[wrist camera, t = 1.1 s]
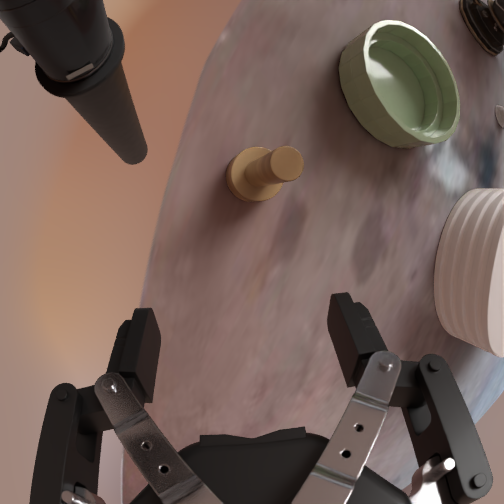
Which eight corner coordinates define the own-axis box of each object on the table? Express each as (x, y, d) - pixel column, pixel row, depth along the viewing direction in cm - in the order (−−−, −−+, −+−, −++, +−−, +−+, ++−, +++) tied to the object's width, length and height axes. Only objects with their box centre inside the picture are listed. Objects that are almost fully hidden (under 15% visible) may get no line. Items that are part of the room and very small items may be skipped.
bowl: (314, 88, 34) (340, 69, 28) (366, 19, 35) (390, 1, 29) (407, 174, 39) (439, 171, 33) (441, 96, 40) (469, 87, 34)
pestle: (215, 182, 33) (237, 171, 23) (244, 141, 33) (277, 114, 23) (257, 211, 35) (296, 213, 24) (284, 170, 35) (331, 157, 24)
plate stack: (494, 165, 45) (540, 164, 34) (515, 282, 52) (553, 292, 41) (414, 236, 41) (475, 246, 30) (447, 365, 48) (489, 389, 37)
